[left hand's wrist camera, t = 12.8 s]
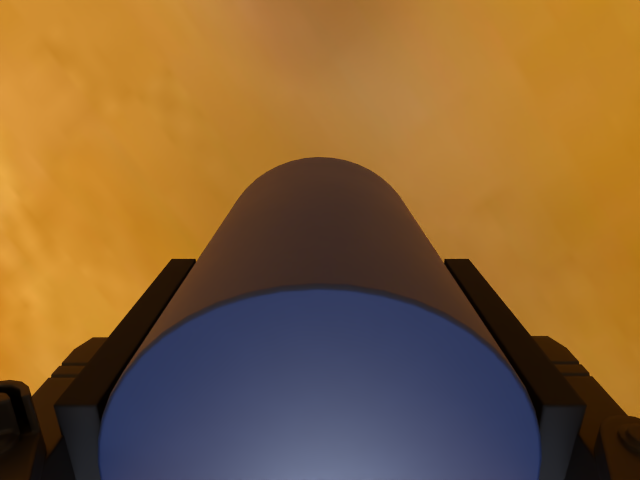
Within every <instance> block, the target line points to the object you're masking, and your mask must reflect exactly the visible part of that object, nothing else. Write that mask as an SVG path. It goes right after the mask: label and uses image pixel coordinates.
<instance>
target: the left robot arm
mask: <svg viewBox="0 0 640 480" xmlns="http://www.w3.org/2000/svg"><path fill="white" fill-rule="evenodd" d="M195 263H196V259H171V261H170V262H169V263H168V264H167V265H166V267H165V268H164V269H163V270H162V272H161V273H160V274H159V275H158V277H157V278H156V279H155V280H154V282H153V283H152V284H151V285H150V286H149V288H148V289H147V290H146V291H145V293H144V294H143V295H142V296H141V298H140V299H139V300H138V301H137V303H136V304H135V305H134V306H133V307H132V309H131V310H130V311H129V312H128V314H127V315H126V316H125V317H124V319H123V320H122V321H121V322H120V323H119V325H118V326H117V327H116V328H115V330H114V331H113V332H112V333H111V335H110V336H109V337H93V338H91V339H90V340H88V341H87V342H85V343H83V344H82V345H80V346H79V347H77V348H76V349H74V350H73V351H72V352H71V353H70V355H69V356H68V357H67V358H66V359H65V360H64V361H63V362H62V366H59V367H58V368H57V369H56V370H55V371H54V372H53V374H52V375H51V378H48V379H47V380H46V381H45V382H44V384H43V385H42V386H41V387H40V388H39V389H38V390H37V391H36V392H35V394H34V395H33V396H31V393H30V390H29V387H28V386H27V385H26V384H24V383H23V382H21V381H13V380H5V381H0V480H101V478H100V473H99V467H98V436H99V431H100V425H101V420H102V415H103V412H104V410H105V407H106V404H107V402H108V399H109V396H110V394H111V392H112V390H113V388H114V387H115V385H116V383H117V381H118V380H119V378H120V376H121V375H122V373H123V371H124V370H125V368H126V367H127V365H128V364H129V362H130V361H131V359H132V358H133V356H134V355H135V353H136V352H137V350H138V349H139V347H140V346H141V344H142V343H143V341H144V340H145V338H146V337H147V335H148V334H149V332H150V331H151V329H152V328H153V326H154V325H155V323H156V322H157V320H158V319H159V317H160V316H161V314H162V313H163V311H164V310H165V308H166V307H167V305H168V304H169V302H170V301H171V299H172V298H173V296H174V295H175V293H176V292H177V290H178V289H179V287H180V286H181V284H182V283H183V281H184V280H185V278H186V277H187V275H188V274H189V272H190V271H191V269H192V268H193V266H194V265H195ZM444 264H445V266H446V267H447V269H448V270H449V272H450V273H451V275H452V276H453V278H454V279H455V281H456V282H457V284H458V285H459V287H460V288H461V290H462V291H463V293H464V295H465V296H466V298H467V299H468V301H469V302H470V304H471V305H472V307H473V308H474V310H475V311H476V313H477V314H478V316H479V317H480V319H481V320H482V322H483V323H484V325H485V326H486V328H487V329H488V331H489V332H490V334H491V335H492V337H493V338H494V340H495V341H496V343H497V344H498V346H499V347H500V349H501V350H502V352H503V353H504V355H505V357H506V358H507V360H508V361H509V363H510V364H511V366H512V367H513V369H514V370H515V372H516V373H517V375H518V376H519V378H520V380H521V381H522V383H523V384H524V386H525V387H526V389H527V392H528V394H529V397H530V399H531V401H532V404H533V406H534V408H535V411H536V416H537V420H538V424H539V429H540V434H541V455H542V459H541V467H540V475H539V480H640V419H639V418H636V417H632V416H628V415H627V414H626V413H625V412H624V411H623V410H622V409H621V408H620V407H619V405H618V404H617V403H616V402H615V401H614V400H613V399H612V398H611V397H610V396H609V394H608V393H607V392H606V391H605V390H604V389H603V388H602V387H601V386H600V384H599V383H598V382H597V381H596V380H595V379H594V378H593V377H592V376H590V375H589V372H588V371H587V370H586V369H585V368H584V367H583V366H582V365H579V361H578V360H577V359H576V358H575V357H574V356H573V355H572V354H571V352H570V351H569V350H568V349H567V348H566V347H564V346H563V345H561V344H559V343H558V342H556V341H555V340H553V339H551V338H550V337H548V336H531V335H530V334H529V333H528V332H527V331H526V329H525V328H524V327H523V326H522V324H521V323H520V322H519V321H518V319H517V318H516V317H515V316H514V314H513V313H512V312H511V311H510V310H509V308H508V307H507V306H506V305H505V303H504V302H503V301H502V300H501V298H500V297H499V296H498V295H497V294H496V292H495V291H494V290H493V289H492V287H491V286H490V285H489V284H488V282H487V281H486V280H485V279H484V277H483V276H482V275H481V274H480V273H479V271H478V270H477V269H476V268H475V266H474V265H473V264H472V263H471V261H470V260H469V259H445V261H444Z"/></svg>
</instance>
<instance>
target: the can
mask: <svg viewBox="0 0 640 480" xmlns="http://www.w3.org/2000/svg"><path fill="white" fill-rule="evenodd" d="M541 459H542V455H541V434H540V429H539V424H538V420H537V416H536V411H535V408H534V406H533V404H532V401H531V399H530V397H529V394H528V392H527V389H526V387H525V386H524V384H523V383H522V381H521V380H520V378H519V376H518V375H517V373H516V372H515V370H514V369H513V367H512V366H511V364H510V363H509V361H508V360H507V358H506V357H505V355H504V353H503V352H502V350H501V349H500V347H499V346H498V344H497V343H496V341H495V340H494V338H493V337H492V335H491V334H490V332H489V331H488V329H487V328H486V326H485V325H484V323H483V322H482V320H481V319H480V317H479V316H478V314H477V313H476V311H475V310H474V308H473V307H472V305H471V304H470V302H469V301H468V299H467V298H466V296H465V295H464V293H463V291H462V290H461V288H460V287H459V285H458V284H457V282H456V281H455V279H454V278H453V276H452V275H451V273H450V272H449V270H448V269H447V267H446V266H445V264H444V263H443V261H442V260H441V258H440V257H439V255H438V254H437V252H436V251H435V249H434V248H433V246H432V245H431V243H430V242H429V240H428V239H427V237H426V236H425V234H424V233H423V231H422V230H421V228H420V226H419V225H418V223H417V222H416V220H415V219H414V217H413V216H412V214H411V213H410V211H409V210H408V208H407V207H406V205H405V204H404V202H403V201H402V199H401V198H400V196H399V195H398V194H397V193H396V191H395V190H394V189H393V188H392V187H391V186H390V185H389V184H388V183H387V182H386V181H384V180H383V179H382V178H381V177H380V176H378V175H377V174H375V173H373V172H372V171H370V170H368V169H366V168H364V167H362V166H360V165H358V164H355V163H352V162H349V161H346V160H341V159H335V158H324V157H314V158H304V159H299V160H294V161H290V162H288V163H285V164H282V165H279V166H277V167H275V168H273V169H271V170H269V171H268V172H266V173H265V174H263V175H262V176H260V177H259V178H257V179H256V180H255V181H254V182H253V183H252V184H251V185H250V186H249V187H248V188H247V189H246V190H245V191H244V192H243V194H242V195H241V196H240V197H239V199H238V200H237V202H236V203H235V205H234V206H233V208H232V209H231V211H230V212H229V214H228V215H227V217H226V218H225V220H224V221H223V223H222V224H221V226H220V227H219V229H218V230H217V232H216V233H215V235H214V236H213V238H212V239H211V241H210V242H209V244H208V245H207V247H206V248H205V250H204V251H203V253H202V254H201V256H200V257H199V259H198V260H197V262H196V263H195V265H194V266H193V268H192V269H191V271H190V272H189V274H188V275H187V277H186V278H185V280H184V281H183V283H182V284H181V286H180V287H179V289H178V290H177V292H176V293H175V295H174V296H173V298H172V299H171V301H170V302H169V304H168V305H167V307H166V308H165V310H164V311H163V313H162V314H161V316H160V317H159V319H158V320H157V322H156V323H155V325H154V326H153V328H152V329H151V331H150V332H149V334H148V335H147V337H146V338H145V340H144V341H143V343H142V344H141V346H140V347H139V349H138V350H137V352H136V353H135V355H134V356H133V358H132V359H131V361H130V362H129V364H128V365H127V367H126V368H125V370H124V371H123V373H122V375H121V376H120V378H119V380H118V381H117V383H116V385H115V387H114V388H113V390H112V392H111V394H110V396H109V399H108V402H107V404H106V407H105V410H104V412H103V415H102V420H101V425H100V431H99V436H98V467H99V473H100V478H101V480H539V475H540V467H541Z"/></svg>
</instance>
